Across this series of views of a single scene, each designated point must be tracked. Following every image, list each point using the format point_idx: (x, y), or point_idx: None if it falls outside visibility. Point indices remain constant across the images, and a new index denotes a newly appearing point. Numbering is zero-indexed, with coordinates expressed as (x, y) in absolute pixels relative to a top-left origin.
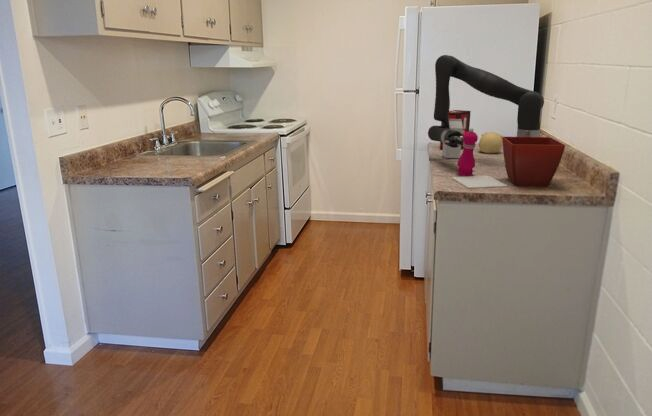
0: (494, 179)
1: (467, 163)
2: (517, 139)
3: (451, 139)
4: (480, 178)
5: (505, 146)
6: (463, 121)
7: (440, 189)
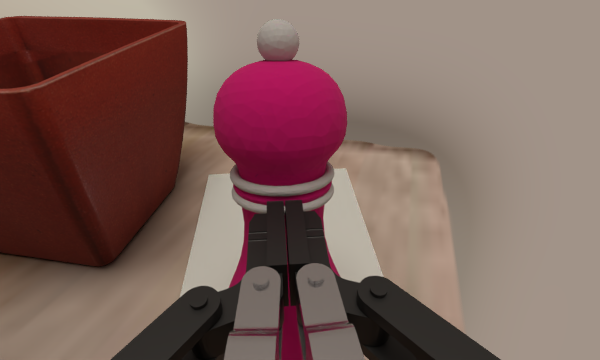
0: (197, 240)
1: None
2: None
3: (450, 325)
4: None
5: (116, 99)
6: None
7: (434, 169)
